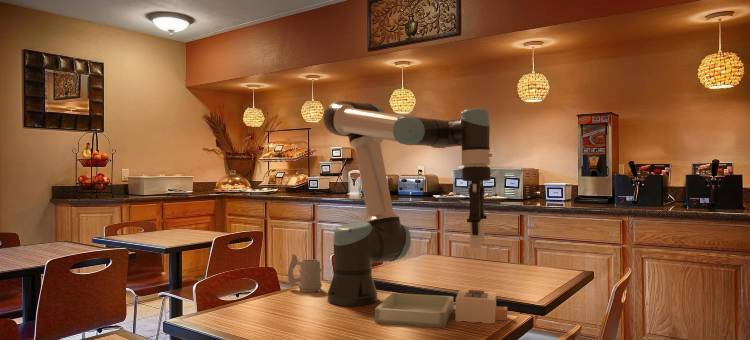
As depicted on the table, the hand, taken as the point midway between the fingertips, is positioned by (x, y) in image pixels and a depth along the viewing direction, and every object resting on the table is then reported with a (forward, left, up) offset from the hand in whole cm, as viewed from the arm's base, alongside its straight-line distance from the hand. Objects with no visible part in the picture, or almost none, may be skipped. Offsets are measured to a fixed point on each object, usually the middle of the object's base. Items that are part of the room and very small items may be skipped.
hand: (477, 245), depth 141 cm
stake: (0, 0, -19) cm, 19 cm away
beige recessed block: (+1, 0, -19) cm, 19 cm away
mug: (-58, +20, -20) cm, 65 cm away
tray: (-16, -2, -19) cm, 25 cm away
